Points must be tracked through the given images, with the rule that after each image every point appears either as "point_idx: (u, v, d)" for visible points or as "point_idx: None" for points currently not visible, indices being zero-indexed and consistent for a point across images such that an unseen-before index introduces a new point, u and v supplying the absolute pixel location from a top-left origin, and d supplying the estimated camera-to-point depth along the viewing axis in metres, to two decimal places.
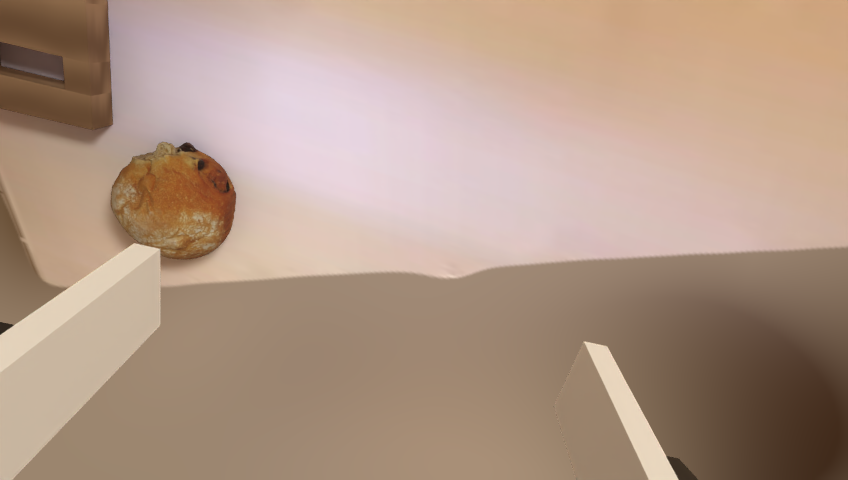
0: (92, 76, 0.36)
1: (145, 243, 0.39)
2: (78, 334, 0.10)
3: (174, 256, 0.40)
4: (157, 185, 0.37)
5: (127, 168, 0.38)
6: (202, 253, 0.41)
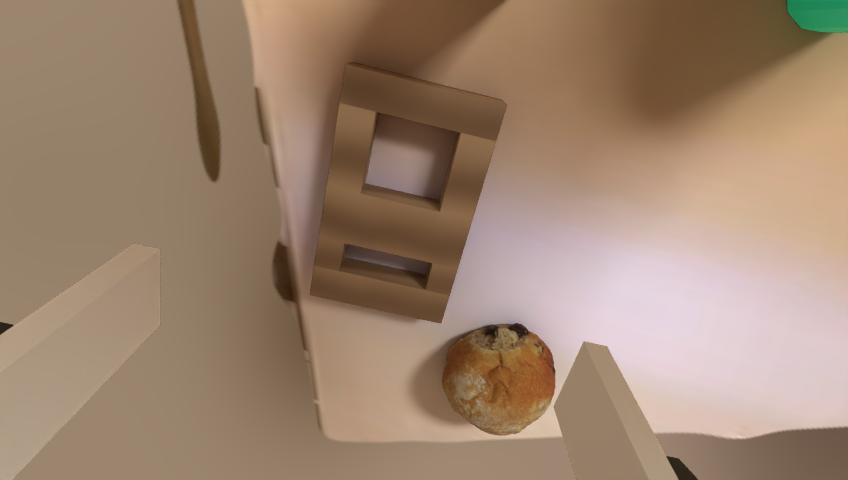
0: None
1: (485, 428, 0.39)
2: (78, 335, 0.10)
3: None
4: (514, 380, 0.37)
5: (473, 357, 0.38)
6: None
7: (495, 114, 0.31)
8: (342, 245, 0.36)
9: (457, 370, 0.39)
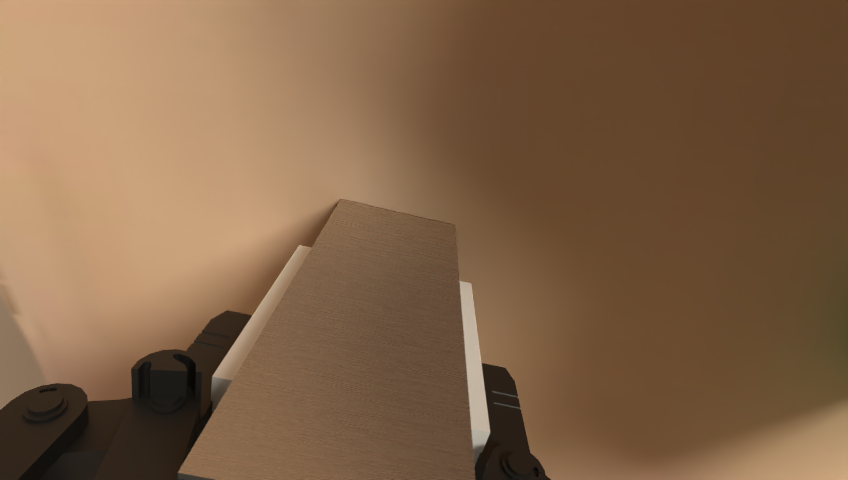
0: None
1: None
2: None
3: None
4: None
5: None
6: None
7: None
8: None
9: None
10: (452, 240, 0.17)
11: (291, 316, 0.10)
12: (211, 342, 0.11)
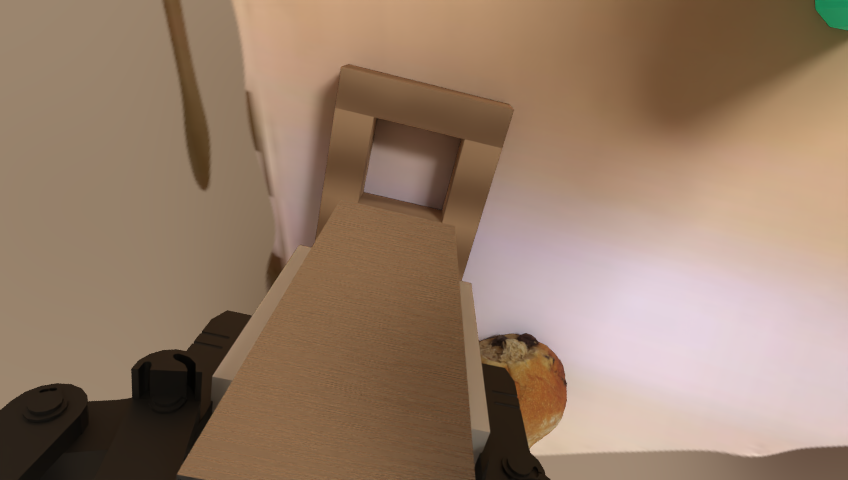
0: None
1: None
2: None
3: None
4: (523, 394, 0.35)
5: None
6: None
7: (501, 119, 0.29)
8: None
9: None
10: (452, 240, 0.16)
11: (290, 317, 0.10)
12: (211, 342, 0.11)
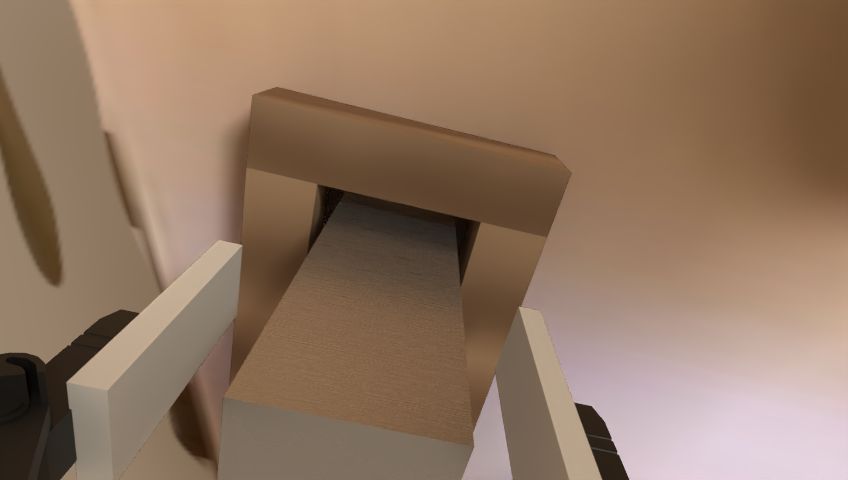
0: None
1: None
2: (189, 321, 0.12)
3: None
4: None
5: None
6: None
7: (548, 190, 0.16)
8: None
9: None
10: (451, 224, 0.18)
11: (309, 283, 0.12)
12: (91, 344, 0.10)
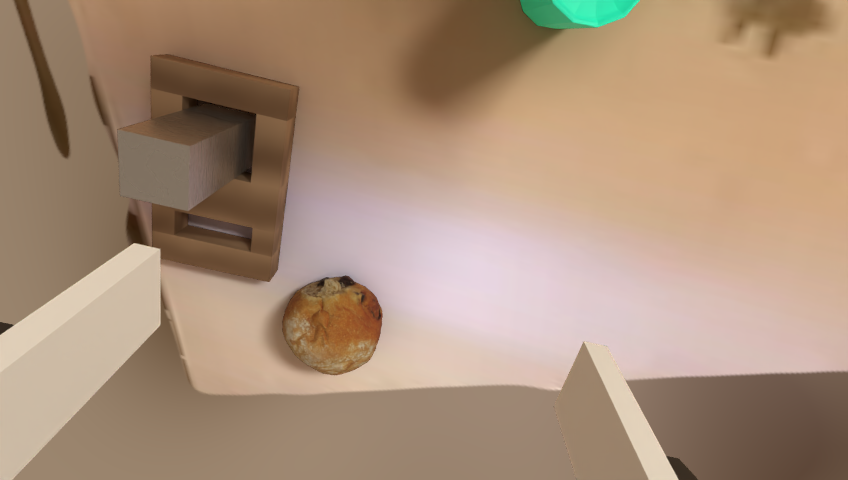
0: (274, 241, 0.43)
1: (314, 366, 0.45)
2: (77, 335, 0.10)
3: (334, 374, 0.46)
4: (331, 322, 0.43)
5: (300, 303, 0.44)
6: (355, 368, 0.47)
7: (282, 98, 0.37)
8: (173, 212, 0.41)
9: (288, 315, 0.44)
10: (249, 118, 0.39)
11: (160, 119, 0.33)
12: None
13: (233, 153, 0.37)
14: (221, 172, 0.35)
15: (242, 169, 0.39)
